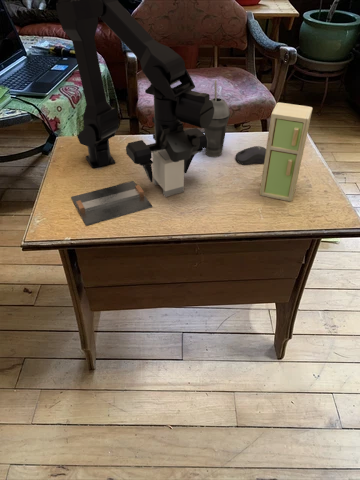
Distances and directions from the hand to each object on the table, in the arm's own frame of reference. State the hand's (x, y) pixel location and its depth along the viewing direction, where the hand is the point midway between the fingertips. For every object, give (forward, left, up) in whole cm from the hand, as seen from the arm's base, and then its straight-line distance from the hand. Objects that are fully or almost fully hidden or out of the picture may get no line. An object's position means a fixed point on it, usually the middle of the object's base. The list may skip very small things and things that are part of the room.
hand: (168, 176), depth 100 cm
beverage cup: (-10, +19, -3) cm, 22 cm away
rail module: (0, 0, -3) cm, 3 cm away
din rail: (0, -15, -3) cm, 15 cm away
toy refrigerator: (+14, +23, -3) cm, 27 cm away
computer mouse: (-2, +27, -4) cm, 27 cm away
